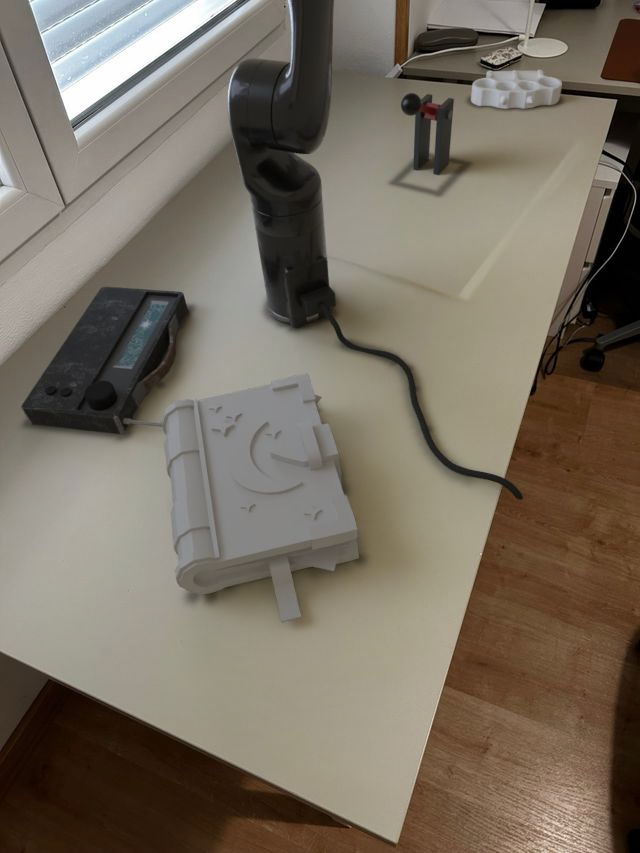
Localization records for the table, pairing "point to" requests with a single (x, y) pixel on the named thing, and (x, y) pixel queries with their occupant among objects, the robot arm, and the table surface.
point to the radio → (109, 361)
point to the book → (256, 490)
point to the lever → (418, 106)
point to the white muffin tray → (516, 89)
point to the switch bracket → (441, 136)
